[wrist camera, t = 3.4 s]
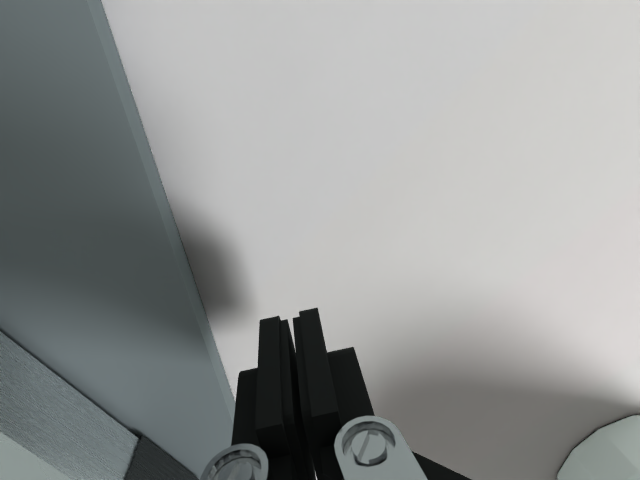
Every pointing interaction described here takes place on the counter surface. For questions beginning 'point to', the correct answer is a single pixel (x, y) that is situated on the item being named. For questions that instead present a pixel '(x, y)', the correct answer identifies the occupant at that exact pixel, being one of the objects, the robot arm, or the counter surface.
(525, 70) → the counter surface
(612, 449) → the white cup
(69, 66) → the slate board
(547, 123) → the counter surface
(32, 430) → the moving tong arm
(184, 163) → the counter surface
